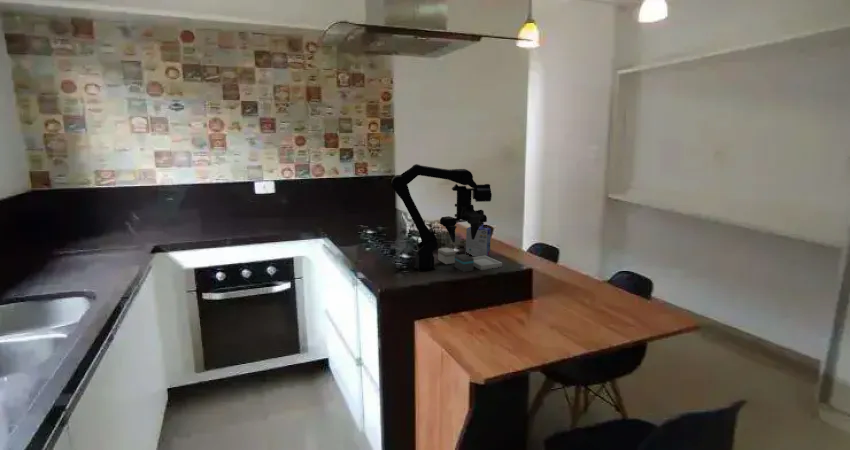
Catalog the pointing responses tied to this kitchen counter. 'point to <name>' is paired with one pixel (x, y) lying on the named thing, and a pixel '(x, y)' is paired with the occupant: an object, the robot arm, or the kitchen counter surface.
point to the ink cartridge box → (478, 242)
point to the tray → (486, 263)
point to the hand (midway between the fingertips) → (463, 240)
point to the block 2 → (464, 262)
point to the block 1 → (446, 255)
